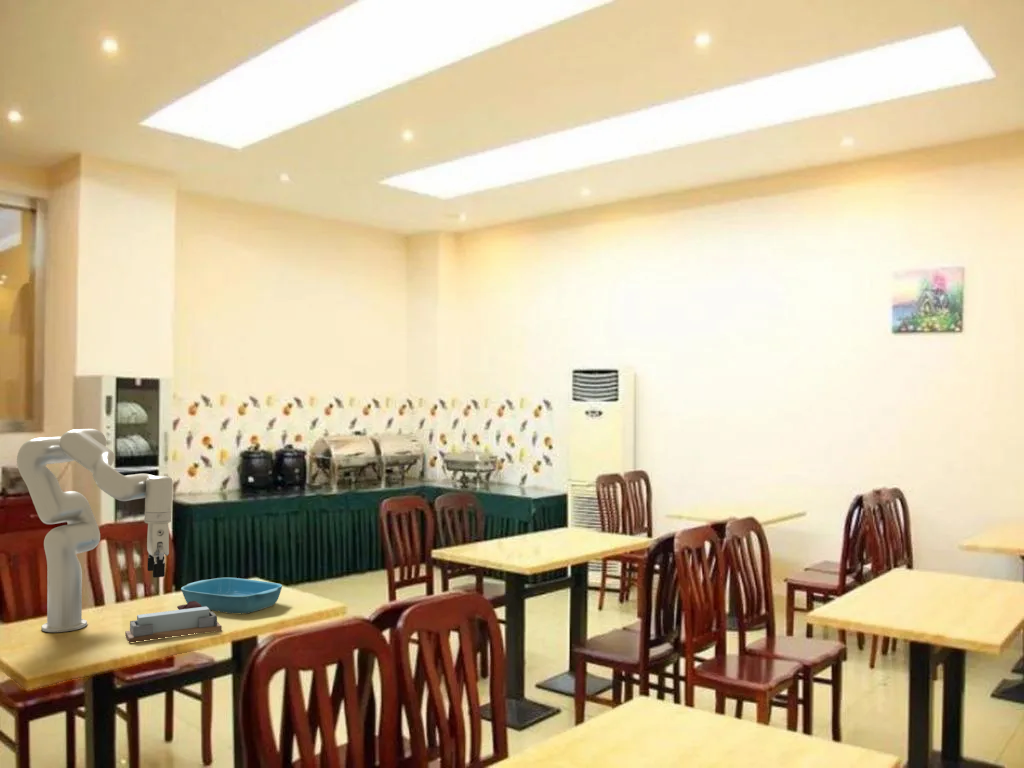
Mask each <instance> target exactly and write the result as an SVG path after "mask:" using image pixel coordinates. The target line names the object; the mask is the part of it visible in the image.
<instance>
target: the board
mask: <svg viewBox="0 0 1024 768" xmlns="http://www.w3.org/2000/svg"><path fill="white" fill-rule="evenodd" d="M222 628H223V627H222V625H221V624H220V623H219V622H218V621H217V626H213V627H206V628H198V627H194V628H187V629H179V630H172V631H165V632H157V633H153V635H147V636H139V637H133V636H132V634H131V632H130V630H125V633H124V635H125V636H126V637H125V638H126V640H127V642H128V641H129V642H128V644H129V643H130V642H136V641H144V640H150V639H158V638H165V637H172V636H181V635H188V634H194V633H195V634H196V633H203V634H206V633H205V632H210V633H214V631H217V632H221V631H222ZM196 635H197V634H196ZM188 636H189V635H188ZM181 637H182V636H181ZM130 644H131V643H130Z"/></svg>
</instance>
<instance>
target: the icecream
mask: <svg viewBox="0 0 1024 768" xmlns="http://www.w3.org/2000/svg"><path fill="white" fill-rule="evenodd" d="M198 607H202V606H201V604H199V603H198V602H197V601H192V602H191V601H190V602H188V604H182V605H178V606H177V610H182V609H190V608H198Z"/></svg>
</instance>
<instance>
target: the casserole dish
mask: <svg viewBox="0 0 1024 768" xmlns="http://www.w3.org/2000/svg"><path fill="white" fill-rule="evenodd" d="M282 588H283V585H282V584H281V583H276V582H270V581H262V580H255V579H248V578H240V577H238V578H237V577H217V578H211V579H201V580H198V581H194V582H190V583H187V584H186V585H184V586H182V587H181V588H180V590H181V593H182V595H183V597H184V600H185V602H186V603H187V604H188V602H190V601H191V602H192V601H197V602H198V603H199V604H201V606H202V607H206V606H207V607H208V608H209V611H211V610H213V611H212V612H218V611H220V612H219V613H224V612H227V613H226V614H232V613H241V614H240V615H243V614H242V613H246V614H250V612H251V613H255V612H258V611H260V610H264V608H265V609H267V608H270V606H271V607H273V606H274V605H275V604H276V603H277V602H278V600H279V598H280V594H281V591H282ZM254 611H255V612H254Z"/></svg>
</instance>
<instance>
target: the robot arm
mask: <svg viewBox="0 0 1024 768" xmlns="http://www.w3.org/2000/svg"><path fill="white" fill-rule="evenodd" d="M73 461H75V462H76V463H78V464H79V465H81V466H82V467H84V468H85V469H86V470H88V471H89V472H90V473H92V478H93V480H94V482H95V484H96V486H97V487H98V488H99V489H100V490H101V491H103V492H104V493H105V494H107V495H108V496H109V497H111V498H112V499H113V498H114V499H115V500H118V501H120V502H127V501H133V500H139V499H144V521H143V522H144V523H145V524H147V534H146V535H147V536H146V537H147V538H146V539H147V540H146V541H147V542H146V547H147V548H146V550H147V552H148V555H147V556H148V557H147V571H148V572H152V578H164V577H165V575H166V572H165V571H166V570H165V569H166V559H165V556H166V557H168V555H169V554H170V532H169V529H170V527H169V523H171V522H172V509H173V508H172V507H173V485H174V482H173V479H172V478H171V476H166V475H153V474H149V473H135V474H127V475H124V474H123V473H120V472H119V471H117V470H116V469H115V468H113V467H112V465H113V464H114V461H115V453H114V451H113V450H111V449H110V448H108V447H107V437H106V436H105V434H104V433H103V432H102V431H100V430H99V429H95V428H80V429H77V428H76V429H71V430H68V431H66V432H64V433H63V434H61V436H52V437H51V436H47V437H43V436H42V437H35V438H31V439H29V440H27V441H25V442H24V443H23V444H22V445H21V446H20V448H19V449H18V452H17V456H16V466H17V469H18V472H19V474H20V477H21V478H22V480H23V481H24V483H25V484H26V487H27V489H28V492H29V495H30V497H31V500H32V504H33V506H34V508H35V511H36V513H37V516H38V518H39V520H40V521H41V522H42V523H43V524H45V525H55V524H61V523H62V524H63V523H67V524H64V525H59V526H57V527H54V528H52V529H50V531H48V532H47V533H46V535H45V537H44V540H43V549H44V552H45V553H44V554H45V558H46V565H47V566H46V567H47V569H46V571H47V577H46V579H47V586H46V587H47V595H46V597H47V598H46V599H47V601H46V602H47V604H46V608H47V610H46V611H47V612H46V615H47V616H46V620H47V621H46V622H45V623H44V624H42V625H41V631H43V632H46V633H64V632H72V631H76V630H81V629H83V628H85V627H87V625H88V620H86V619H84V618H82V614H83V611H82V610H83V609H82V604H83V602H82V600H83V599H82V598H83V595H82V594H83V592H82V591H83V581H82V580H83V573H82V572H83V568H82V564H81V562H80V559H79V558H78V555H79V554H81V553H85V552H89V551H92V550H94V549H95V548H96V547H97V546H98V545H99V543H100V541H101V533H100V532H101V531H100V528H99V524H98V523H97V520H96V516H95V515H94V513H93V509H92V508H91V504H90V502H89V501H88V499H87V498H86V496H85V495H83V494H82V493H81V492H78V491H77V490H76V491H75V490H69V491H64V490H63V489H62V488H61V487H62V486H60V483H59V480H58V478H57V476H56V475H55V474H54V472H53V471H52V470H50V469H49V468H48V467H47V465H51V464H62V463H63V464H64V463H69V462H73Z"/></svg>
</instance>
